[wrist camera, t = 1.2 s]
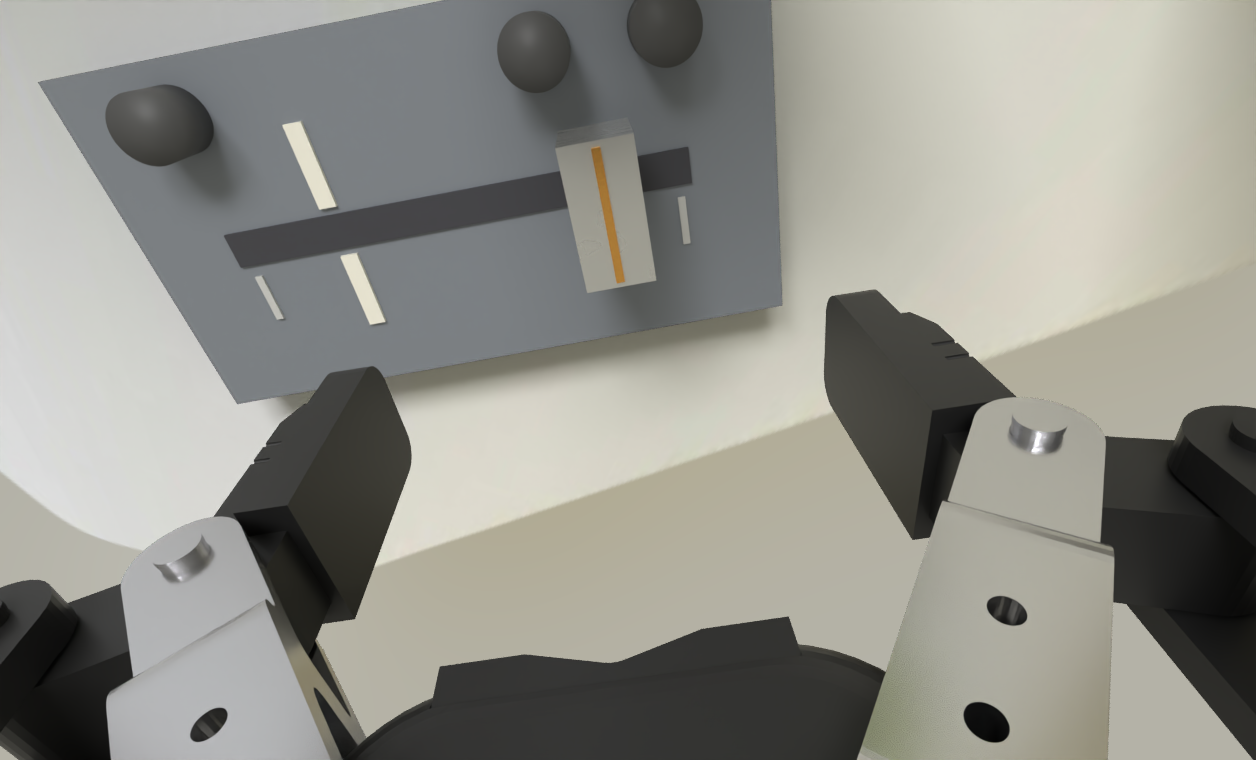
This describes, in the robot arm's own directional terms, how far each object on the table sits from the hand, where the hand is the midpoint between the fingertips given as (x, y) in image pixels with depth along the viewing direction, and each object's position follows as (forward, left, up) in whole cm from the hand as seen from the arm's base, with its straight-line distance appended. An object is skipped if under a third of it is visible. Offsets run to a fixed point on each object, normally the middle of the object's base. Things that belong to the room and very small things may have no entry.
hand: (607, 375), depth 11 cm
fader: (0, +1, -15) cm, 15 cm away
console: (+6, +1, -18) cm, 19 cm away
